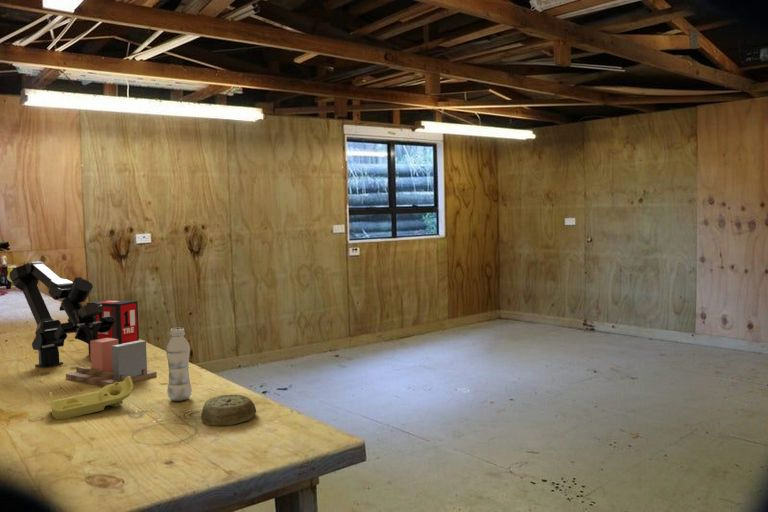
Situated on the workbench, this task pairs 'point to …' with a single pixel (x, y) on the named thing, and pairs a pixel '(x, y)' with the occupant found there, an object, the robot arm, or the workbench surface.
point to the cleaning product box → (119, 320)
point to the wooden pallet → (103, 376)
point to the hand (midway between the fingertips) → (97, 346)
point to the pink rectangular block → (102, 354)
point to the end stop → (129, 359)
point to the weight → (227, 410)
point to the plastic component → (91, 400)
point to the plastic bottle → (178, 366)
